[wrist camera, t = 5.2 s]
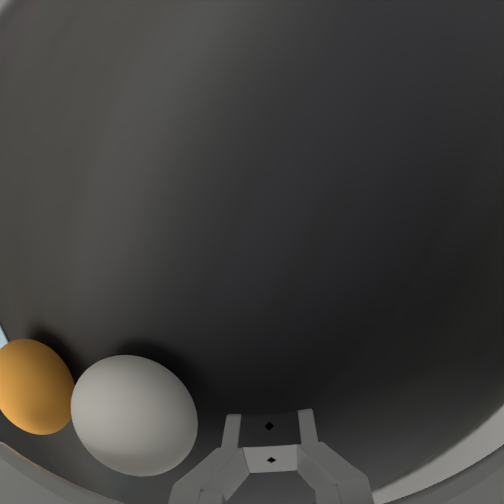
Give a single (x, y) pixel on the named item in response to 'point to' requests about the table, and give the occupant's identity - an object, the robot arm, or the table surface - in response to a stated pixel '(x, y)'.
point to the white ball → (134, 415)
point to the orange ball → (35, 387)
